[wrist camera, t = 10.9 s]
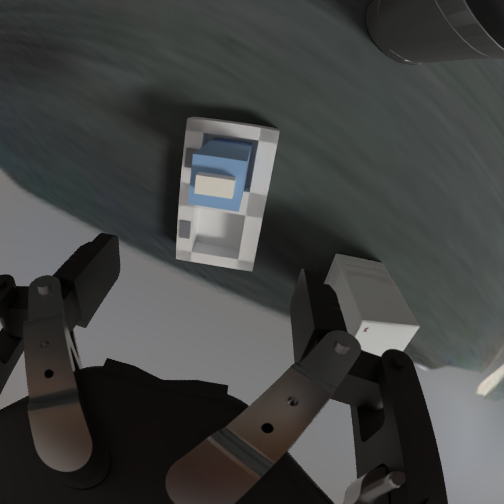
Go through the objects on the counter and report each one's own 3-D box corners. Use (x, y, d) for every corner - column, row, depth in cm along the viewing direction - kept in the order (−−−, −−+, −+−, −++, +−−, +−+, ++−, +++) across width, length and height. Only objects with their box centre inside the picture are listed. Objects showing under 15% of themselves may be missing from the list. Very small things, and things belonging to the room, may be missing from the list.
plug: (214, 137, 29) (189, 156, 19) (252, 142, 29) (246, 164, 20) (209, 172, 31) (184, 208, 21) (246, 178, 31) (237, 216, 21)
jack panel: (194, 116, 28) (186, 118, 25) (278, 128, 29) (279, 131, 26) (182, 246, 36) (175, 259, 33) (252, 258, 36) (252, 272, 34)
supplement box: (316, 297, 39) (332, 369, 28) (335, 251, 36) (362, 319, 25) (363, 305, 40) (388, 372, 29) (384, 262, 36) (422, 326, 25)
